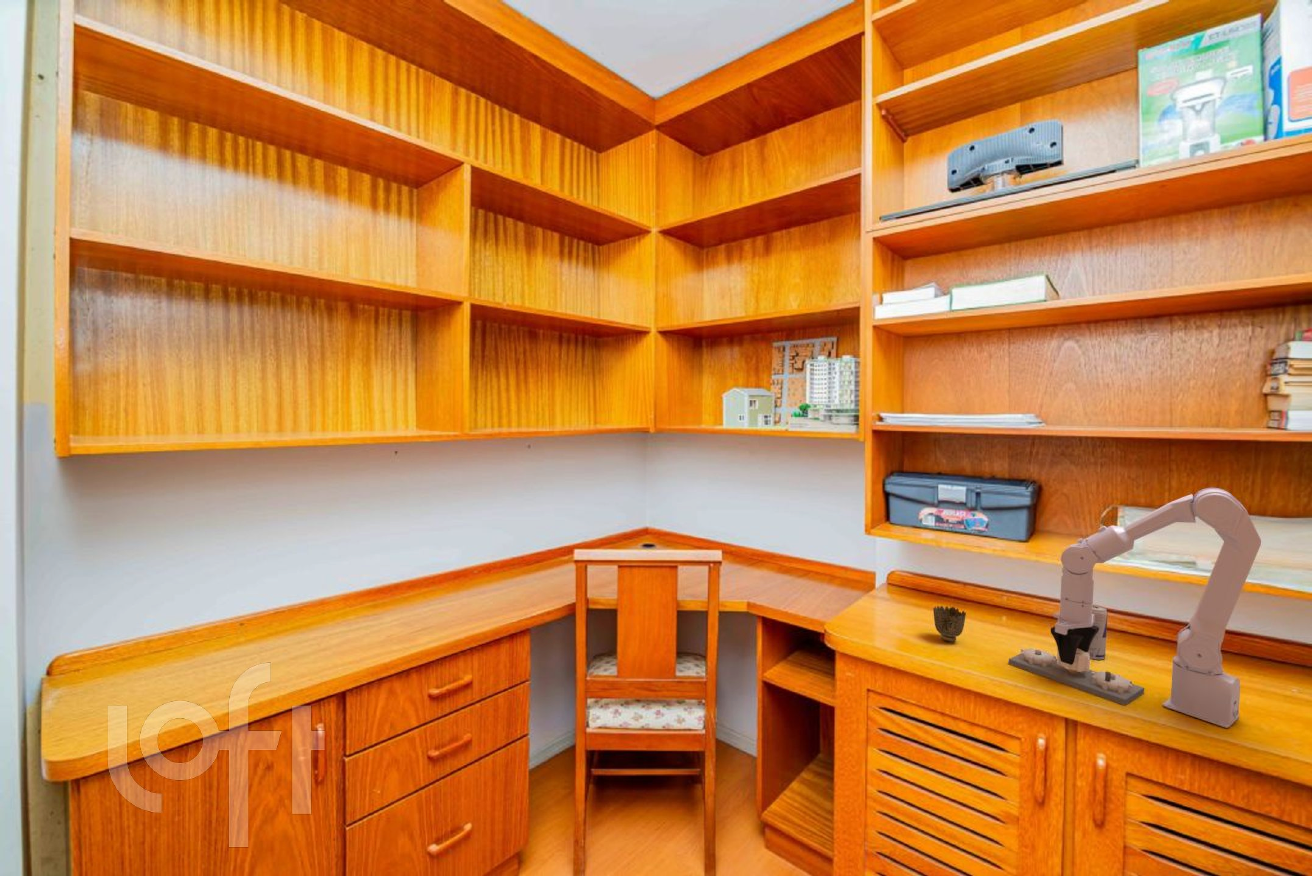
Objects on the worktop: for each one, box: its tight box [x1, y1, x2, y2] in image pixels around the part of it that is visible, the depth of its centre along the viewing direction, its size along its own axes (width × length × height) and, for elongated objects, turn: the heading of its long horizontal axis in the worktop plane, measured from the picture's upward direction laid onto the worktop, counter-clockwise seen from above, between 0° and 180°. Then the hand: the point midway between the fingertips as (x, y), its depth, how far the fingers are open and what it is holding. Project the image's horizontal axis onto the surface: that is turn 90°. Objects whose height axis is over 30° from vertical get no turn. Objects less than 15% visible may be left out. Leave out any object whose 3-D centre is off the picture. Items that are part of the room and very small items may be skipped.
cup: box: [932, 605, 967, 644], centre depth 144 cm, size 8×7×8 cm
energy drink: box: [1088, 604, 1108, 661], centre depth 137 cm, size 5×5×12 cm
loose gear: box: [1056, 647, 1091, 672], centre depth 125 cm, size 6×6×3 cm
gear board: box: [1007, 647, 1145, 706], centre depth 125 cm, size 22×10×4 cm, turn 32°
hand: (1073, 659), depth 125 cm, fingers closed on loose gear, 6 cm apart
